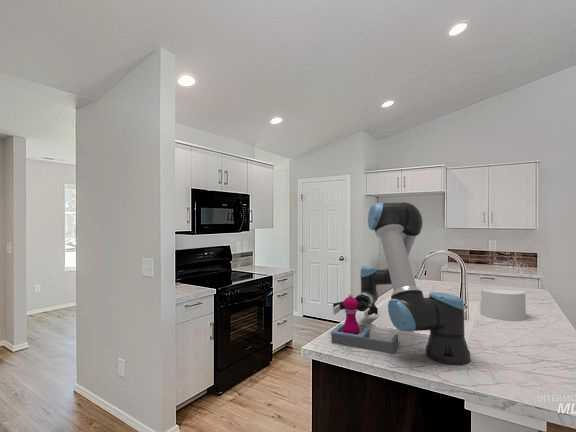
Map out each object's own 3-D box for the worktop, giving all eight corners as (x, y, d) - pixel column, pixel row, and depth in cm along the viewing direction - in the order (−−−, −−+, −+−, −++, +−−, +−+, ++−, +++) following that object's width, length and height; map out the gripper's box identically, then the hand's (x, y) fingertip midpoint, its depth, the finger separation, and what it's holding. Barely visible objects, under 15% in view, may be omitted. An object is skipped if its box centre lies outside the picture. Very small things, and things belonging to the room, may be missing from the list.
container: (514, 310, 184) (513, 286, 184) (534, 321, 164) (533, 294, 164) (474, 309, 187) (474, 285, 187) (489, 320, 167) (489, 293, 167)
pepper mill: (360, 344, 139) (359, 295, 139) (342, 343, 141) (341, 295, 141) (359, 337, 146) (358, 292, 147) (343, 337, 148) (342, 291, 148)
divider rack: (398, 343, 139) (398, 332, 139) (392, 353, 129) (392, 341, 129) (340, 334, 151) (340, 324, 151) (330, 343, 141) (330, 332, 141)
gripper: (390, 312, 155) (378, 326, 136) (338, 306, 167) (322, 318, 148) (389, 296, 155) (378, 307, 136) (338, 291, 167) (321, 301, 148)
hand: (349, 313), depth 142 cm, fingers open, 13 cm apart
